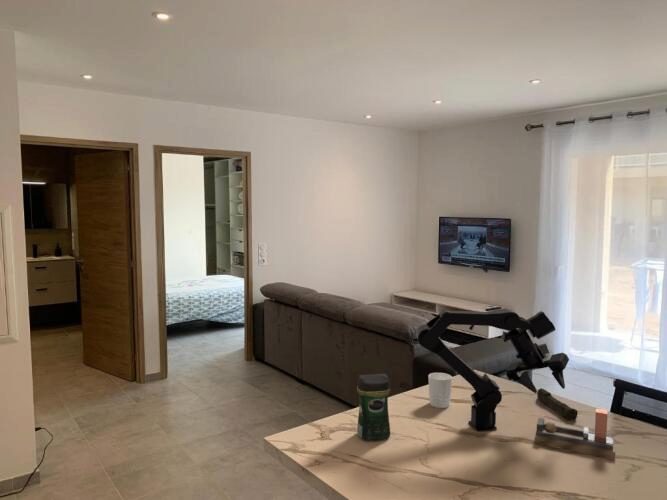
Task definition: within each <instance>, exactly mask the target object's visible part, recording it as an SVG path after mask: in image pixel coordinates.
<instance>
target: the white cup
mask: <svg viewBox="0 0 667 500" xmlns="http://www.w3.org/2000/svg"><path fill="white" fill-rule="evenodd" d="M452 378H453V377H452V375H451V374H449V373H445V372H431V373H429V374H428V395H429V405H430V406H431V407H433V408H437V409H446V408H449V407H450V405H451V395H452V394H451V393H452V384H453V383H452V380H453V379H452Z"/></svg>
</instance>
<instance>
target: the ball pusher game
mask: <svg viewBox="0 0 667 500" xmlns="http://www.w3.org/2000/svg"><path fill="white" fill-rule="evenodd" d="M545 424H546V423H545V418H543V417H538V418H537V423H536V431H535V434H534V435H535V436H534V444H537V445H541V446H546V447H551V448H556V449H562V450H565V451H571V452H576V453H581V454H586V455H590V456H595V457H600V458H605V459H611V460H615V459H616V446H615V438H613V435H609V434H607V435H606V436H607V437H612V438H613V445H612V444H607V443H601V442H596V441H591V440H586V439H583V436H584V429H583V430H582V429H577V428H572V427H566V426H561V425H556V432H555V433H549V432H546V430H545ZM588 433H590V434H595V431H594V432H593V431H589V432H588Z"/></svg>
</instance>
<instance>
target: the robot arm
mask: <svg viewBox="0 0 667 500" xmlns="http://www.w3.org/2000/svg"><path fill="white" fill-rule="evenodd" d="M451 325H457V326H458V325H460V326H486V327H487V326H488V327H493V328H496V329H498V330H499V329H500V330H503V331H502V334H501V336H500V339H501V340H502V341H503V342H504V343H507V342H508V341H509V342H510V344H511V345H512V347H513V349H514V350H515V352H516V355H515V357H516V359H519V360H520V361H517V362H512V363H509V366H508V367H507V369H506V370H505V375H506V378H507V379H508V380H509V381H511V380H512V381H513V382H516V383H518V384H520V385H521V386H523V387H525V388H526V389H528V390H530V391H531V392H532V393H534V394H537V392H538V389H537V387H536V386H535V385H534V383H533V381H532V379H531V378H530V376H529V373H528V372H530V371H535V370H542V369H545V368H548V369H549V370H550V371H551V375H552V376H553V378H554V380H556V382H557V383H558V385H559V386H560V387H561V388H562V389H563V390H564V389H566V383H565V377H564V370H565V369H566V367H567V365H568V363H569V361H570V359H569V356H568V354H566V353H565V352H559V353H554V354H552V355H551V356H550V358H549V359H548V360H544V359H546V357H547V355H549V354H550V351H549V348H548V346H547V343H540V344H537V343H536V342H535V343H534V342H533V340H532V338H533V339H535V338H536V339H537V340H541V339H542V338H544V337H546V336H548V335H549V334H552V333H553V332H555V331H556V327H555V325H554V323H553V321H551V320H550V319H549V317H548V316H547V315H546V313H545V312H544V311H542V310H540V311H538V312H537V313H536V314H535V315H533V316H531V317H529V318H526V319H525V318H524V317H523V316H522V317H521V316H520V315H518V314H517V312H515V311H513V310H512V309H511V308H508V307H507V308H505V307H504V308H499V309H493V310H488V311H475V310H473V311H472V310H471V311H469V310H448V309H443V310H442V311H440V312H439V313H438V314H437V315H436V316H434V317H433V318H431V319H430V320H428V322H426V323H425V324H422V325H419V327H418V328H417V329H416V331H415V337H416V339H417V342H418V343H419V345H420V346H421V347H422V348H424V349H425V350H427V351H429V352H431V353H433V354H435V355H436V356H438V357H440V359H442V360H443V361H444V362H445V363H446V364H448V366H449V367H451V368H452V369H453V370H454V371H455V372H456V373H457V374H458V375H459V376H461V377H462V378H463V379H464V380H465V381H466V382H467V383H468V384H469V385H470V386H471V387H472V388H473V389H474V392H473V393H472V394H470V397H471V398H470V399H471V401H472V402H473V404H472V405H471V406H470V408H471V411H470V412H471V414H470V420H468V424H469V425H470V426H472V428H474V429H475V430H476V431H477V432H485V431H493V430H495V431H496V430H498V428H497V425H496V424H497V423H496V422H497V421H496V418H497V417H496V415H497V412H496V411H495V410H496V408H497V406H498V405H499V404H500V403H501V402H502V400H503V399H502V398H503V395H502V392H501V391H500V389H501V388H500V386H499V385H498V384H497V382H496V381H495V380H494V379H491V377H489V375H488V374H487V373H484V374H483V375H481V374H478V373H477V372H476V371H475V369H473V368H472V367H471V366H469V365H468V363H466V362H465V361H464V360H463V359H462V358H460V356H458V355H457V354H456V353H455V352H454V351H453V350H452V349H450V348H449V347H448V346H447V344H446V343H444V341H443V340H442V338H441V336H442V335H443V333H444V332H445V331H446V330H447V329H448V327H450V326H451ZM504 330H505V331H504ZM530 336H531V337H530Z"/></svg>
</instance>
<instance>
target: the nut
mask: <svg viewBox="0 0 667 500" xmlns="http://www.w3.org/2000/svg"><path fill="white" fill-rule="evenodd" d="M556 426H557V425H556V424H555V423H554V422H552V421H548V422H546V423H545V430H546V432H549V433H555V432H556Z"/></svg>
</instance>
